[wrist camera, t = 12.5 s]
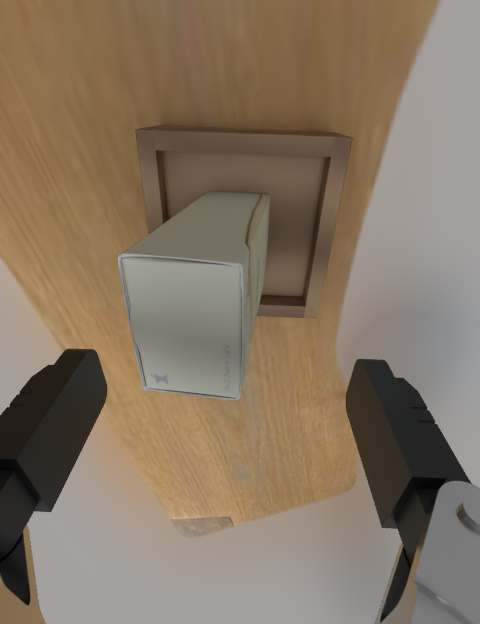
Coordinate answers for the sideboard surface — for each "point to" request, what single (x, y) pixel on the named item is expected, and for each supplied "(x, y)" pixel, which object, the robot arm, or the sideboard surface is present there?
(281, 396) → the sideboard surface
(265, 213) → the skincare box
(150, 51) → the sideboard surface
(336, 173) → the brown wooden tray
